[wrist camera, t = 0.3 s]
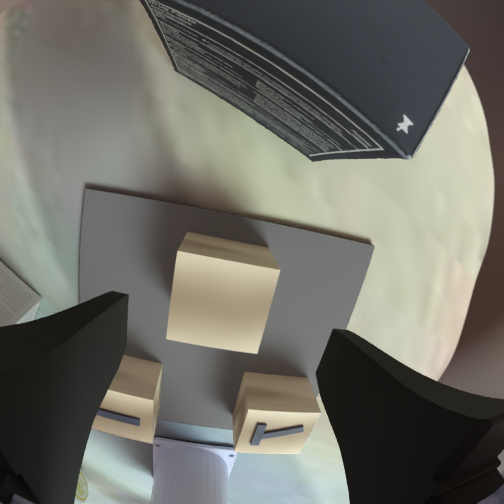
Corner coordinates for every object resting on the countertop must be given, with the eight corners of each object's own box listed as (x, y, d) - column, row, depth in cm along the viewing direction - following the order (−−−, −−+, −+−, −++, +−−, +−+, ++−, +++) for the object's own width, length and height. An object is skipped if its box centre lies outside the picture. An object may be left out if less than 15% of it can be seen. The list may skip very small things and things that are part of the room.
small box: (368, 89, 17) (480, 48, 7) (314, 165, 18) (412, 175, 8) (233, -1, 14) (244, -111, 4) (171, 71, 15) (116, -16, 5)
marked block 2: (289, 419, 23) (298, 455, 19) (232, 415, 22) (234, 453, 18) (308, 377, 22) (321, 414, 18) (244, 371, 21) (248, 411, 17)
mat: (297, 430, 24) (298, 433, 24) (90, 398, 22) (88, 401, 21) (372, 244, 20) (374, 246, 19) (87, 188, 17) (85, 188, 16)
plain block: (251, 318, 20) (257, 353, 16) (176, 306, 19) (166, 339, 15) (268, 247, 19) (280, 270, 15) (187, 231, 18) (177, 250, 14)
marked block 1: (159, 408, 22) (152, 445, 18) (102, 394, 21) (88, 429, 17) (162, 363, 20) (152, 402, 16) (99, 348, 20) (79, 383, 16)
